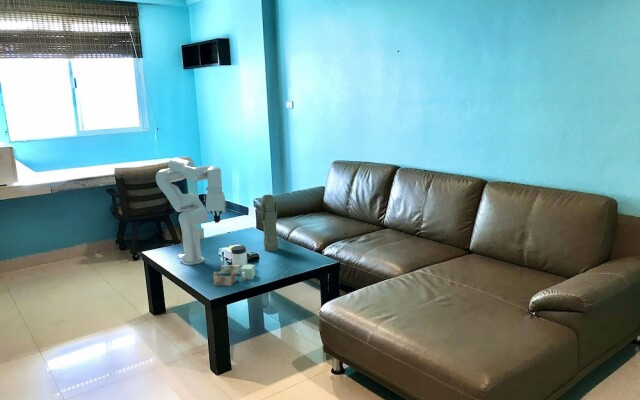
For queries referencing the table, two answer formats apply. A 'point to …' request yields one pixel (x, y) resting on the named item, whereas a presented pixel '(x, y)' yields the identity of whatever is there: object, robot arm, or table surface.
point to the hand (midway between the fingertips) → (217, 222)
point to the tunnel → (227, 270)
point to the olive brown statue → (269, 222)
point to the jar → (239, 255)
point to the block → (248, 271)
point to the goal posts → (244, 275)
